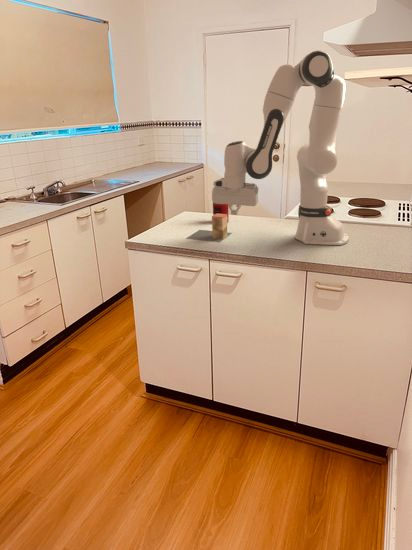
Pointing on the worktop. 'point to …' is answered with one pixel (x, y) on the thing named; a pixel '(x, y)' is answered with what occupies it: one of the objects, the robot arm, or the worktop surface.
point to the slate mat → (205, 236)
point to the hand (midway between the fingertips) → (234, 214)
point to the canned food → (220, 209)
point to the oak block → (219, 226)
